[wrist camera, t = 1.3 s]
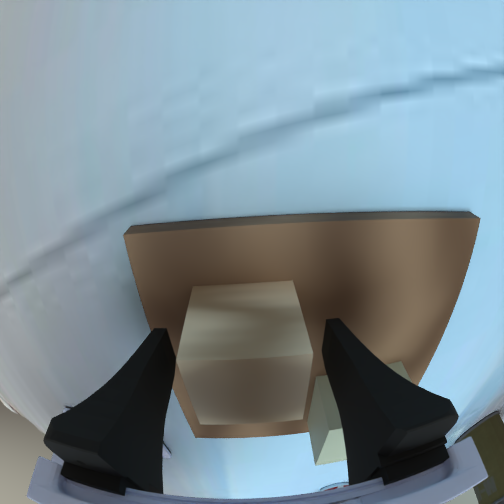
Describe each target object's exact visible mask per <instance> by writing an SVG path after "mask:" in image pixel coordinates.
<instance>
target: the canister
mask: <svg viewBox="0 0 504 504" xmlns="http://www.w3.org/2000/svg"><path fill="white" fill-rule="evenodd" d="M499 414H500V412H499V411H496V412H493V413H491V414H490V415H488V416H486V417H485V418H483V419H482V420H481V421H479V422H478V423H477V424H475V425H474V426H473V427H471V428H470V429H469V430H467V431H466V432H465V433H464V434H463V435H461V436H460V437H459V438H458V439H457V441H456V442H455V444H456V443H458V442H460V441H462V440H464V439H466V438H468V437H472V439H473V441H474V444H475V446H476V448H477V450H478V453H479V455H480V457H481V460H482V462H483V464H484V467H485V469H486V472H487V474H488V477H487V478H486V479H485V480H483V481H482V482H480V483H479V484H477V485H476V486H474V487H473V488H474V491H475V494H476V496H477V499H478V502H479V504H504V423H503V421H502V419H501V417H500V416H499Z"/></svg>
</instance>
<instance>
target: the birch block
mask: <svg viewBox="0 0 504 504" xmlns="http://www.w3.org/2000/svg"><path fill="white" fill-rule="evenodd" d="M312 359H313V351H312V347H311V343H310V340H309V336H308V332H307V329H306V325H305V321H304V318H303V314H302V311H301V307H300V304H299V300H298V297H297V293H296V290H295V286H294V283H293V280H291V281H277V282H261V283H245V284H228V285H208V286H193V288H192V292H191V296H190V300H189V305H188V309H187V313H186V318H185V322H184V326H183V331H182V335H181V340H180V345H179V349H178V354H177V359H176V361H177V364H178V367H179V370H180V373H181V376H182V379H183V381H184V384H185V387H186V390H187V392H188V395H189V398H190V400H191V403H192V405H193V408H194V410H195V413H196V415H197V418H198V420H199V423H200V424H205V425H228V424H256V423H270V422H282V421H292V420H300V419H303V415H304V409H305V404H306V398H307V392H308V385H309V379H310V372H311V366H312Z"/></svg>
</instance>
